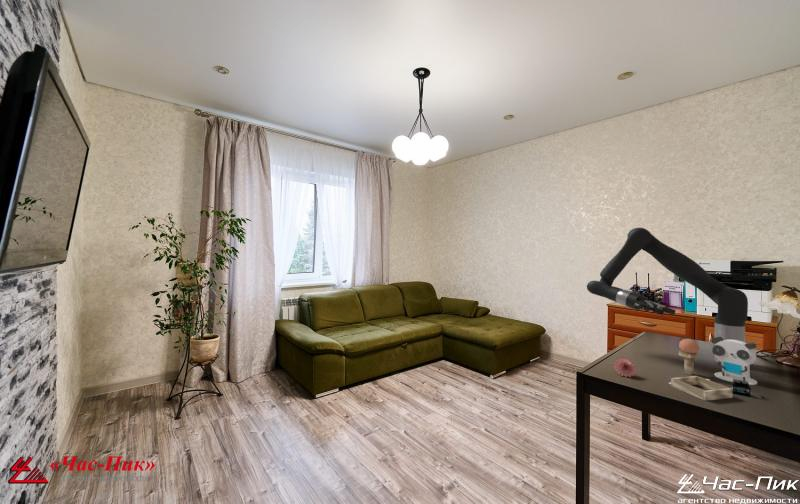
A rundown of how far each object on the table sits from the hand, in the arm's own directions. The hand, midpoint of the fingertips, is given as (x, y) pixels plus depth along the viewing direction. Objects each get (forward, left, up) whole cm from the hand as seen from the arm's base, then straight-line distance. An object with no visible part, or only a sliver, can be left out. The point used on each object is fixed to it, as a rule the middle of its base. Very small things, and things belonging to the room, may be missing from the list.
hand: (669, 312), depth 135 cm
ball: (+1, +8, -12) cm, 15 cm away
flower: (+27, +5, -23) cm, 36 cm away
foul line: (+9, +15, -23) cm, 29 cm away
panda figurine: (-11, +15, -23) cm, 30 cm away
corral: (+14, +22, -23) cm, 35 cm away
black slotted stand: (+1, +25, -24) cm, 35 cm away
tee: (+1, +8, -23) cm, 25 cm away
